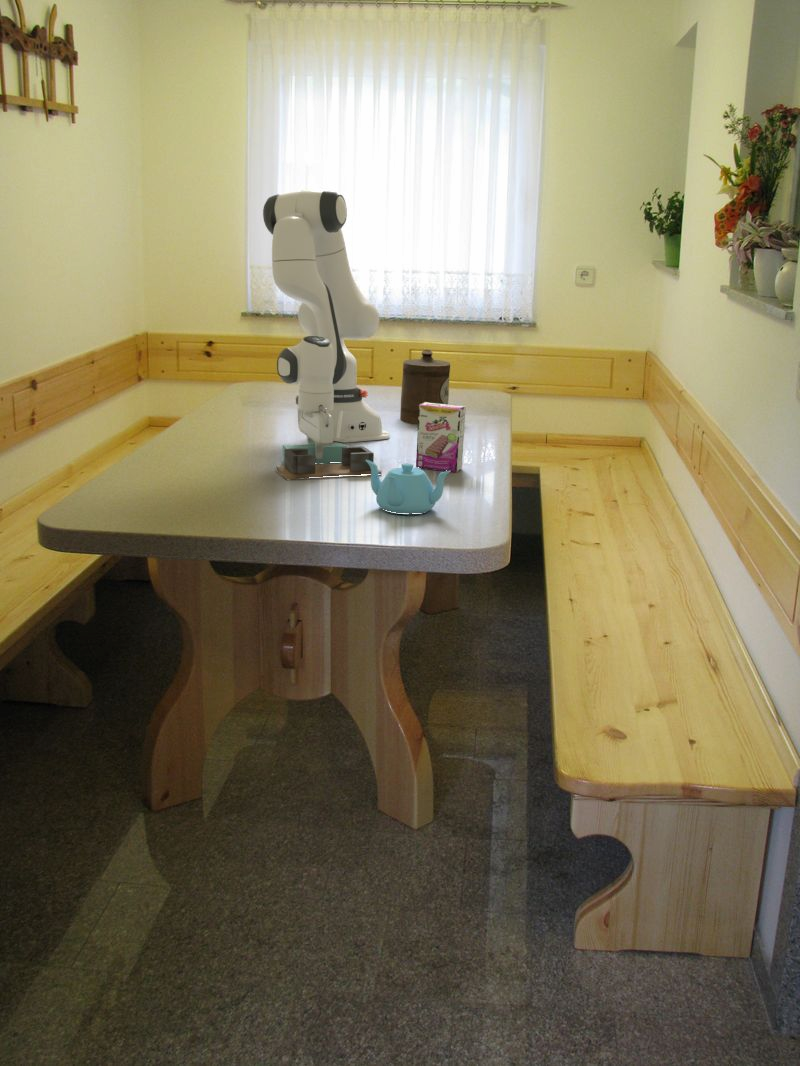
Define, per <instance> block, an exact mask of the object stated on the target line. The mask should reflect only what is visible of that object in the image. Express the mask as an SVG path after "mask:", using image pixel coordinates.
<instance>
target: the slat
mask: <svg viewBox="0 0 800 1066" xmlns="http://www.w3.org/2000/svg"><path fill="white" fill-rule="evenodd" d="M315 447H316V445H315V444H308V443H307V444H287V445H286V444H285V445H282V463H283V462H284V458H285V449H308V455H311V454H314V451H315ZM342 447H349V446H348V445H346V444H345V442H339V443H338V442H337V443H334V442H333V444H332V445H325V446H324V449H323V455H322V458H321V459H317V458H316V462H315V463H330V462H342Z"/></svg>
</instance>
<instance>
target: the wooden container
mask: <svg viewBox="0 0 800 1066" xmlns="http://www.w3.org/2000/svg"><path fill="white" fill-rule="evenodd" d="M450 372H451V363H450V362H449V361H445V360H441V359H440V360H437V359H434V358H433V351H432V350H431V349H424V350H422V351H421V357H420V358H418V359H417V358H413V359H405V360H404V361H403V364H402V377H401V378H402V379H401V380H402V382H401V395H400V414H399V417H400V418H399V419H400V420H401V421H403V422H405V423H409V424H417V425H418V415H419V405H420V404H422V403H424V402H428V403H437V404H446V405H449V401H450V399H449V398H450V397H449V396H450Z"/></svg>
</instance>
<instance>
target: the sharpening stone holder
mask: <svg viewBox="0 0 800 1066" xmlns="http://www.w3.org/2000/svg"><path fill="white" fill-rule="evenodd" d="M374 455H375V454H374V452H373V451H372V450H370V449H368V448H367V447H365V446H363V445H361V446H348V447H342V463H335V464H315V462H316V455H314V454H311V455H308V449H285V458H284V463H283V464H284V466H282V465H281V466H276V470H277V471H278V472H279V473H280V474H281V475H280V476H281V477H283V476H284V477H285V478H286V479H299V478H309V477H323V476H339V475H361V474H371V468H370V465H369V464H368V463H367V462H366V460H369V461H372V462H373V463H374V459H375V458H374ZM277 471H276V472H277ZM278 472H277V473H278ZM279 473H278V474H279ZM378 474H381V475H382V470H380V469H378ZM284 477H283V478H284ZM285 478H284V479H285ZM286 479H285V480H286ZM299 480H300V479H299Z"/></svg>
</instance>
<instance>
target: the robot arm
mask: <svg viewBox="0 0 800 1066" xmlns="http://www.w3.org/2000/svg"><path fill="white" fill-rule="evenodd" d="M347 210H348V208H347V204H346V200H345V197H344V196H343V195H342V194H341V193H340V192H339V191H338V190H335V189H328V188H324V189H305V190H304V189H303V190H300V191H292V192H287V193H284V194H283V193H277V194H273V195H271V196H270V197H268V198H267V199H266V201H265V203H264V205H263V209H262V218H263V222H264V225H265V228H266V229H267V230H268V232H269V233H270V235H272V242H271V262H272V263H271V267H272V277H273V281H274V284H275V285H276V287H277V288H278V290H280V292H281V293H283V294H284V295H286V296H287V297H289V298H291V299H293V300H296V301H298V302H300V303H301V304H300V306H299V308H298V312H297V320H298V323H299V325H300V328H302V330H303V331H305V333H306V334H307V335H308V336H304V337H303V338H301V340H300V342H299V343H298V344H295V345H293V346H289V347H285V348H283V349H282V350H281V351H280V353H279V354H278V357H277V360H276V369H277V370H276V371H277V375H278V376H279V378H280V379H281V380H282V381H283V382H284V383H286V384H290V385H298V386H299V388H298V394H297V395H296V396H295V404H296V405H297V424H298V429H299V432H301V433H302V434H304V436H306V442H307V444H315V445H316V447H315V451H314V455H316V458H317V459H321V458H322V455H323V449H324V446H325V445H332V444H334V441H335V442H337V443H338V442H339V443H354V442H365V441H377V440H389V439H390V433H389V432H388V431H387V430H385V429H383V425H382V424H383V423H382V420H381V417H380V414H379V413H378V412H377V411H375V409H373V408H372V407H371V406H369V405H368V404H367V403H366V402H365V401H364V400H363V399H364V398H367V397H368V396H369V392H368V391H367V390H366V389H360V388H359V387H357V374H358V373H357V371H358V367H357V365H358V361H357V358H356V357H355V356H354V355H353V354H352V353H351V352H350V350H349V349H348V348H347V346H346V344H345V340H353V341H354V340H357V341H358V340H363V339H370V338H372V337H373V336H374V334H376V332H377V331H378V328H379V326H380V325H379V324H380V314H379V312H378V311H379V310H378V309H377V307H376V306H375V305H374V304H373V303H371V302H370V301H369V300H368V299H367V297H365V296H364V294H363V293H362V292H361V290H360V288H359V286H358V285H357V283H356V282H355V279H354V277H353V274H352V271H351V267H350V264H349V259H348V254H347V248H346V247H347V246H346V242H345V238H344V234H343V231H342V228H343V227H344V225H345V224H346V222H347V216H348V214H347V212H348V211H347ZM344 339H345V340H344Z"/></svg>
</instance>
